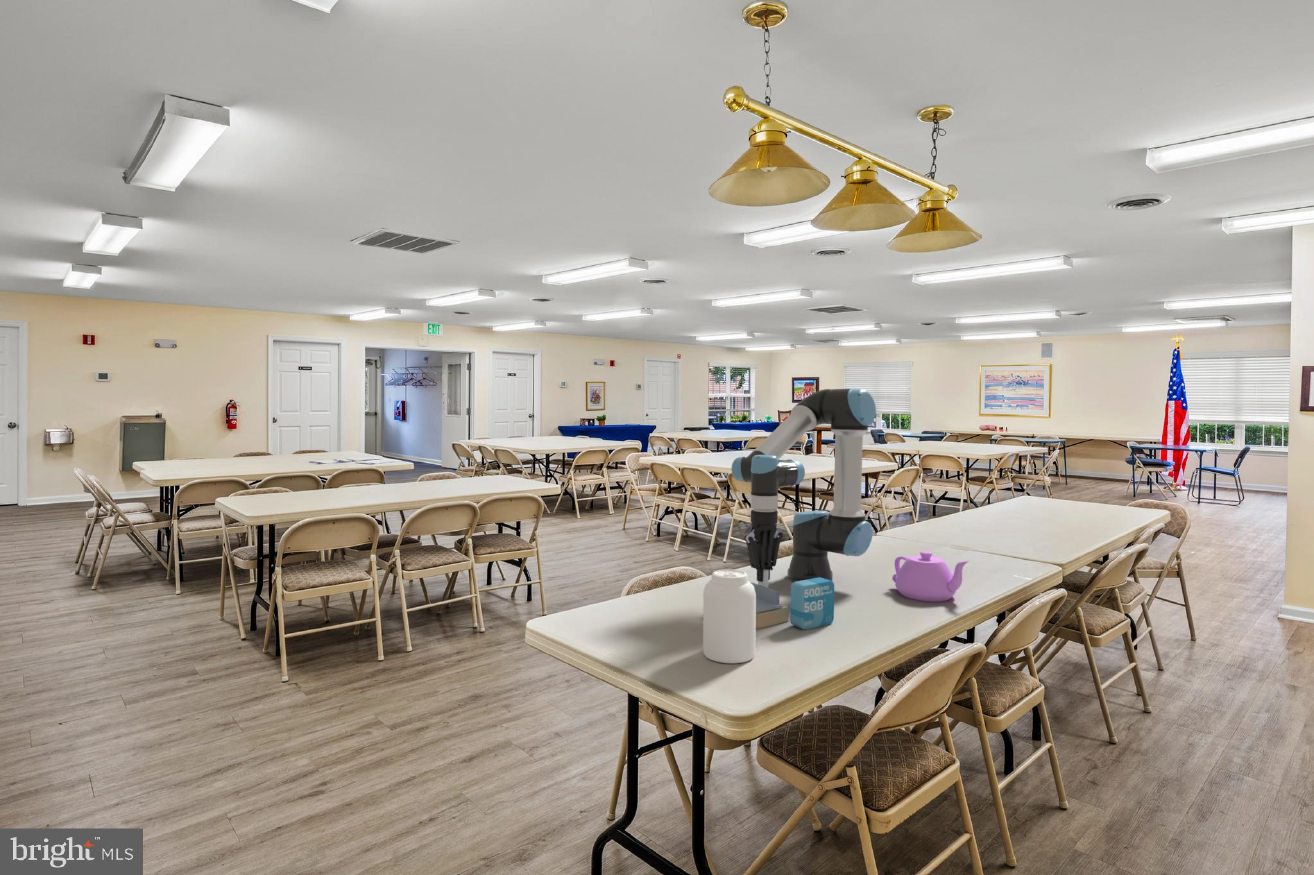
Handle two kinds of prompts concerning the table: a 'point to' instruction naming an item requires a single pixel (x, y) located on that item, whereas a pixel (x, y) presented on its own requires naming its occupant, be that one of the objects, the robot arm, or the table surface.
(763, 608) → the lid
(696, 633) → the table surface
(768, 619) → the light brown shallow tray
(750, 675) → the table surface
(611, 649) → the table surface
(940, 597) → the teapot
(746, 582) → the white bottle
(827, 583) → the data package
